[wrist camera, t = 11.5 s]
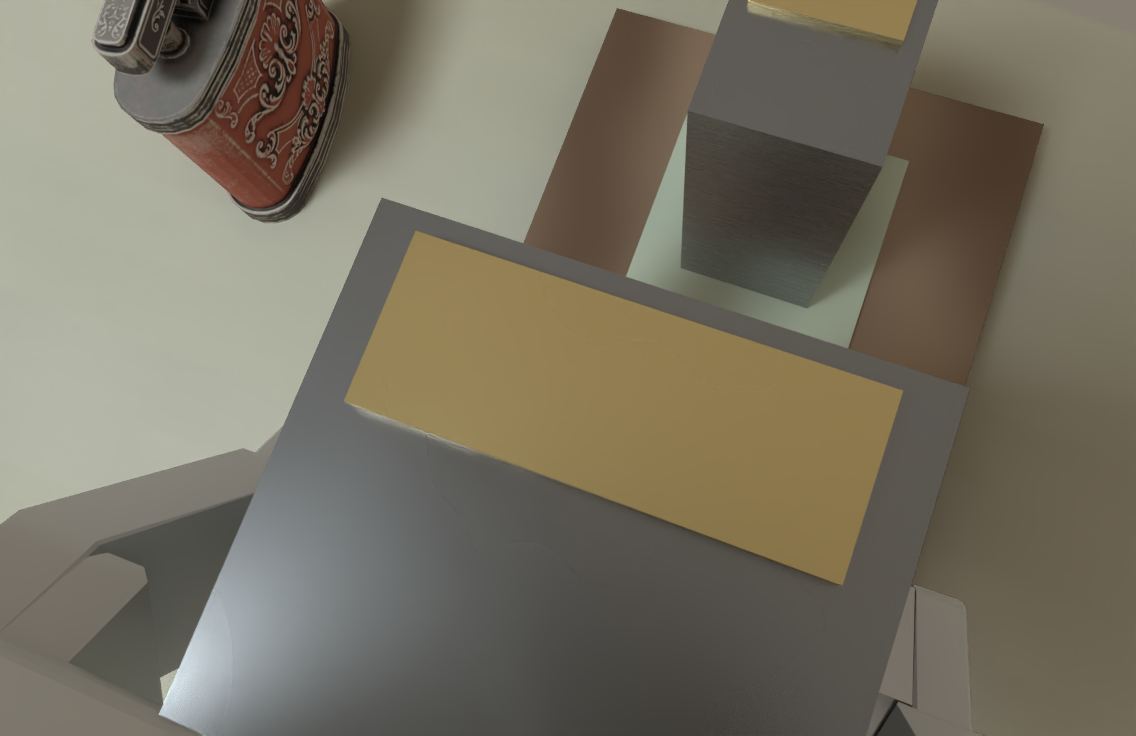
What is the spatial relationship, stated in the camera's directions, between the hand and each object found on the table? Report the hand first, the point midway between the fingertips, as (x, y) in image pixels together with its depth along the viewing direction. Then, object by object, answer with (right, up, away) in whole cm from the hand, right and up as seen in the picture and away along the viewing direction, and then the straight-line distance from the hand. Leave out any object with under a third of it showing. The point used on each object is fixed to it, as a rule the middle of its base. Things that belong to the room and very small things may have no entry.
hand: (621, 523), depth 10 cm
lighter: (-10, +11, +23) cm, 27 cm away
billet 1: (0, -2, +5) cm, 5 cm away
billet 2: (+5, +6, +18) cm, 20 cm away
